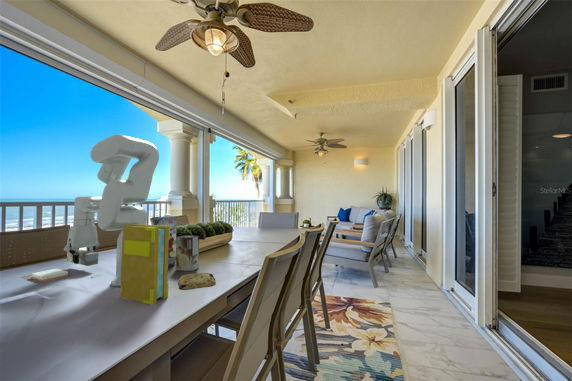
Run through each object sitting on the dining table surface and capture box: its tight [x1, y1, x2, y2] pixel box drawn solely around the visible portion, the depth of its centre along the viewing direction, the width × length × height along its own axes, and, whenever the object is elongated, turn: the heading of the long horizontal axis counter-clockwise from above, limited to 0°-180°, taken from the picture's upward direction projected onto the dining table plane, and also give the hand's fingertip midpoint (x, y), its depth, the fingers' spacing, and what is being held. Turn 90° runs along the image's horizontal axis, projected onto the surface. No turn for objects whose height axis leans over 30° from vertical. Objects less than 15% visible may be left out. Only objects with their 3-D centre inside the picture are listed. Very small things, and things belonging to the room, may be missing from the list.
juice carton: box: [151, 213, 178, 268], centre depth 123 cm, size 9×10×27 cm
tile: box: [30, 268, 69, 282], centre depth 99 cm, size 2×8×10 cm
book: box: [119, 224, 170, 306], centre depth 84 cm, size 17×7×25 cm, turn 71°
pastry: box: [178, 272, 217, 290], centre depth 99 cm, size 17×17×3 cm
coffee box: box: [175, 235, 200, 272], centre depth 118 cm, size 9×6×16 cm
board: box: [21, 274, 73, 284], centre depth 100 cm, size 18×10×2 cm, turn 65°
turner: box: [66, 248, 99, 267], centre depth 110 cm, size 18×4×5 cm, turn 65°
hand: (82, 261), depth 110 cm, fingers closed on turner, 4 cm apart
